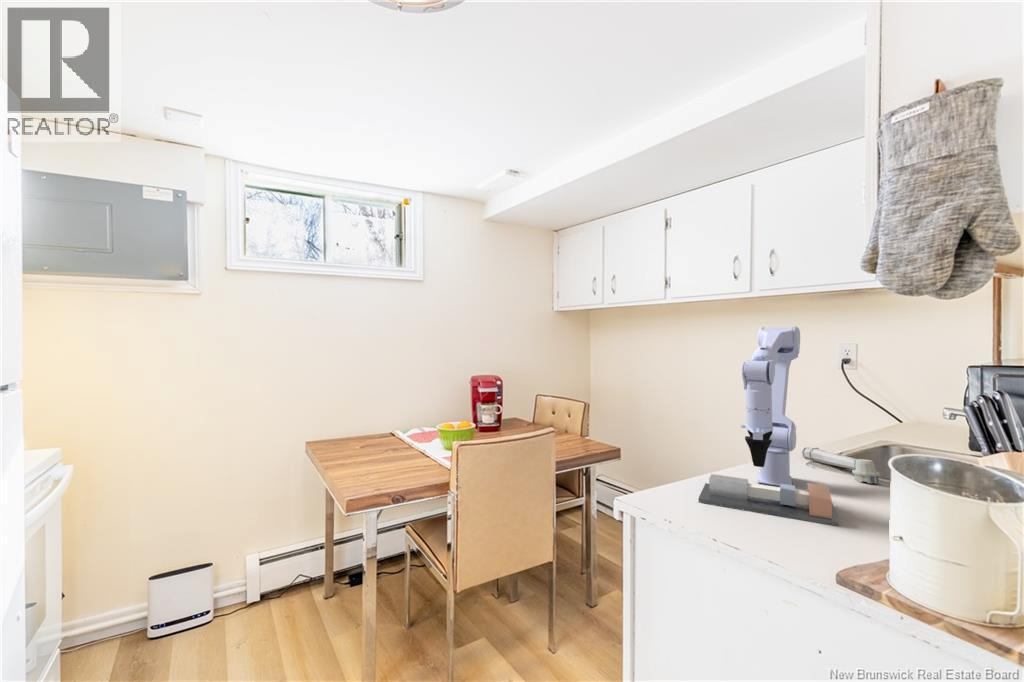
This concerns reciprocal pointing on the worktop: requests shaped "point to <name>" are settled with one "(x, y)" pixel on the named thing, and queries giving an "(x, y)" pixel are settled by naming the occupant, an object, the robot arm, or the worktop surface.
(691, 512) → the worktop surface
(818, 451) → the handheld shower head
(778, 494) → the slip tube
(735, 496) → the sleeve base
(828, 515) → the socket block
